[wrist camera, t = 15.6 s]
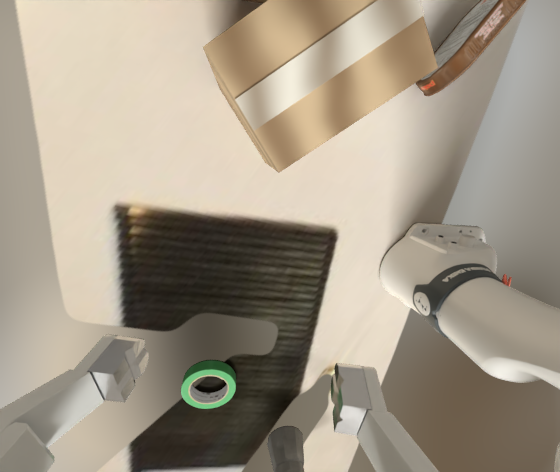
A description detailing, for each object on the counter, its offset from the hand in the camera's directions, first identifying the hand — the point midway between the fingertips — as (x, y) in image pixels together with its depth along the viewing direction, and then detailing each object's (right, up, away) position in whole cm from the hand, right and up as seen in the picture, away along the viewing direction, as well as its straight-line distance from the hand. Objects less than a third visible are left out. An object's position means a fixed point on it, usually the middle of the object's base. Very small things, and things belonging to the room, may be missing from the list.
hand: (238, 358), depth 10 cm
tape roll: (-13, -26, +43) cm, 52 cm away
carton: (+4, +26, +26) cm, 38 cm away
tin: (+27, +34, +28) cm, 51 cm away
